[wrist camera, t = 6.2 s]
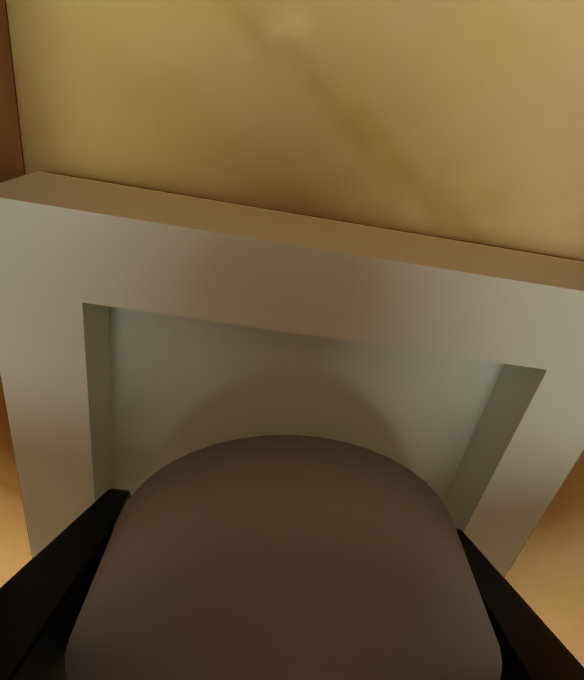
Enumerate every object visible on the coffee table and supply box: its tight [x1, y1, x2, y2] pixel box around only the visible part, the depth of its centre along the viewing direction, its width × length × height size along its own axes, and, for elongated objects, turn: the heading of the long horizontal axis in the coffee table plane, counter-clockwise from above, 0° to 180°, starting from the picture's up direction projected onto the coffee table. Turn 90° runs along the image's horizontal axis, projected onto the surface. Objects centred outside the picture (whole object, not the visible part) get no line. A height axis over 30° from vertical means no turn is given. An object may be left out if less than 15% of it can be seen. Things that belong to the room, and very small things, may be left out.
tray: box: [0, 171, 584, 577], centre depth 9 cm, size 11×12×5 cm
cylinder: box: [65, 435, 502, 680], centre depth 8 cm, size 6×6×2 cm
